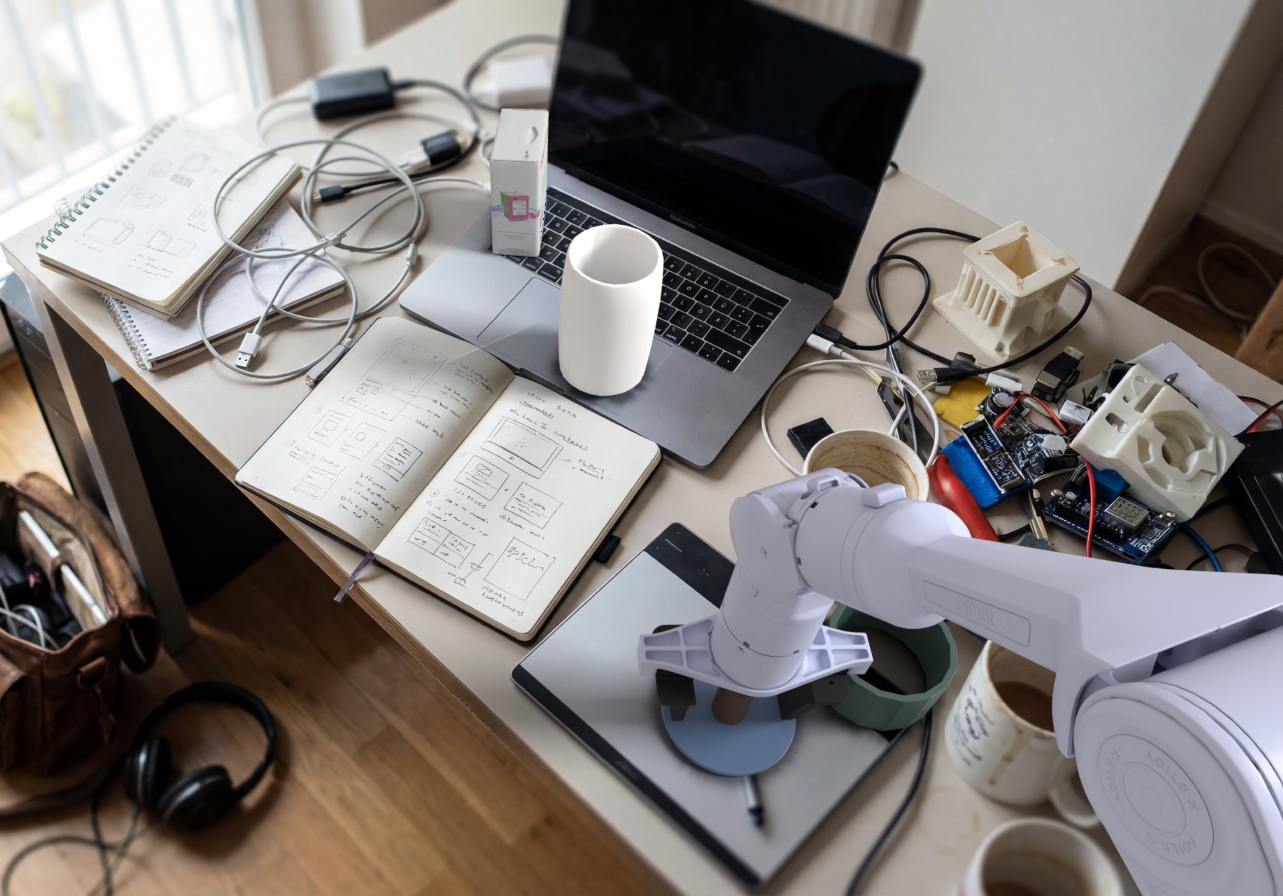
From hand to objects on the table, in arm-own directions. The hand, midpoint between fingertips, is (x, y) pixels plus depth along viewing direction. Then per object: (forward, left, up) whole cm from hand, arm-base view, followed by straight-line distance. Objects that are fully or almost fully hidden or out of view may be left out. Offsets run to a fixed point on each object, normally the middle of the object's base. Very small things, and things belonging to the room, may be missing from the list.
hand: (729, 707), depth 72 cm
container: (-3, -11, -1) cm, 11 cm away
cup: (+32, -11, -2) cm, 34 cm away
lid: (0, 0, -1) cm, 1 cm away
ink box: (+53, -15, -2) cm, 55 cm away
